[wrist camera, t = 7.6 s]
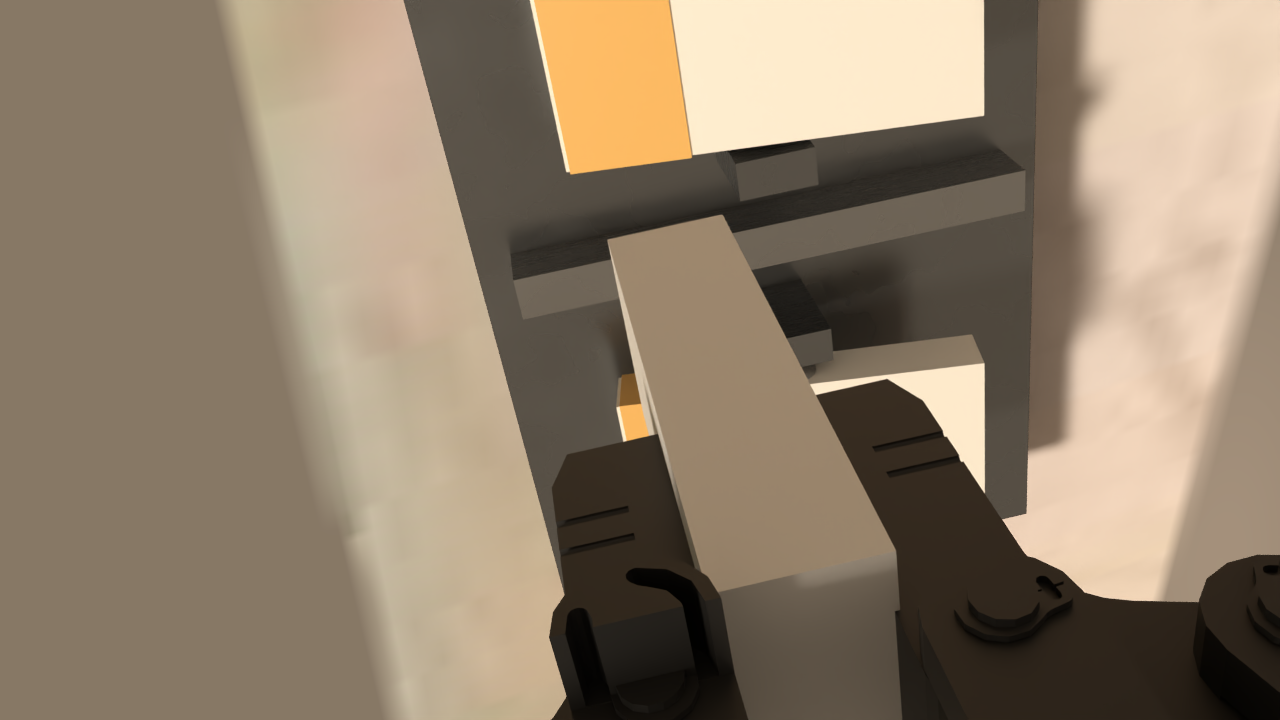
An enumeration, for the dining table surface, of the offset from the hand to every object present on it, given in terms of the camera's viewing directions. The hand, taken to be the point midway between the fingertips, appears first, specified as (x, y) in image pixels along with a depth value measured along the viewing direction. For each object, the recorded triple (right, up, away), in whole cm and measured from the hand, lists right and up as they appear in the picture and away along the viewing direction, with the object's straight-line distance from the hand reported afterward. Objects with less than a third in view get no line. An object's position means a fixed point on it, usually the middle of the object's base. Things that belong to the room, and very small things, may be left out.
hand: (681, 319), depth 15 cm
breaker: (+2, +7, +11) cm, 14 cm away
